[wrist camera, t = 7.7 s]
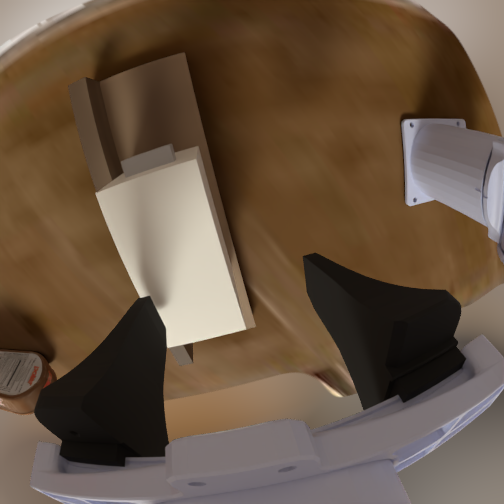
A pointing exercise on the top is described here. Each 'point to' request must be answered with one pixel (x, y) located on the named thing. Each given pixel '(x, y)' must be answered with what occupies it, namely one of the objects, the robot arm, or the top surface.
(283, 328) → the top surface
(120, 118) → the ledge board
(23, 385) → the tin
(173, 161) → the cabinet block
